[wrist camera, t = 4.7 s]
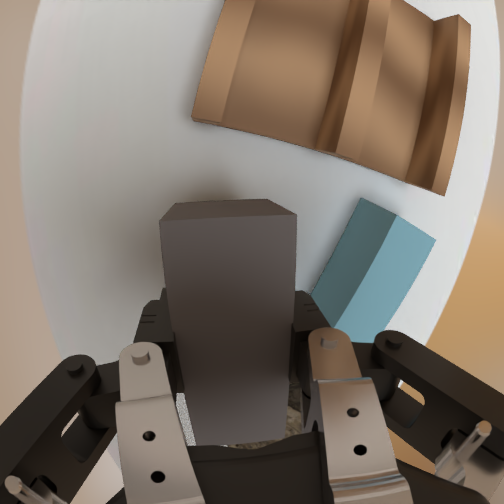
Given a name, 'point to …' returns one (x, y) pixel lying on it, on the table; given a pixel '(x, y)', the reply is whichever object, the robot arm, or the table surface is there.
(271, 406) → the dark gray block
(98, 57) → the table surface
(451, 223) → the table surface
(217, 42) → the block
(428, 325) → the table surface
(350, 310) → the tall teal pillar
